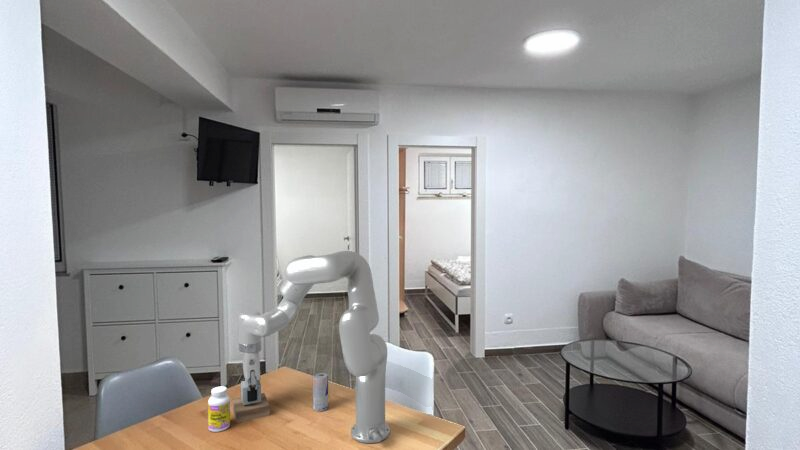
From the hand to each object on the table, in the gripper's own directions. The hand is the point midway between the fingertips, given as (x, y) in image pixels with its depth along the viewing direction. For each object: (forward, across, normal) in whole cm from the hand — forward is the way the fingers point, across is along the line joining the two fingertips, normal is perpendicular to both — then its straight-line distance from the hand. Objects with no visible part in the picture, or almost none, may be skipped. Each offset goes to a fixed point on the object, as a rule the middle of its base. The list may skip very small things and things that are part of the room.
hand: (251, 396), depth 146 cm
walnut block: (+6, 0, 0) cm, 6 cm away
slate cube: (+1, 0, 0) cm, 1 cm away
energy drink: (+6, -8, -23) cm, 25 cm away
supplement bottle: (+6, -6, +11) cm, 14 cm away
